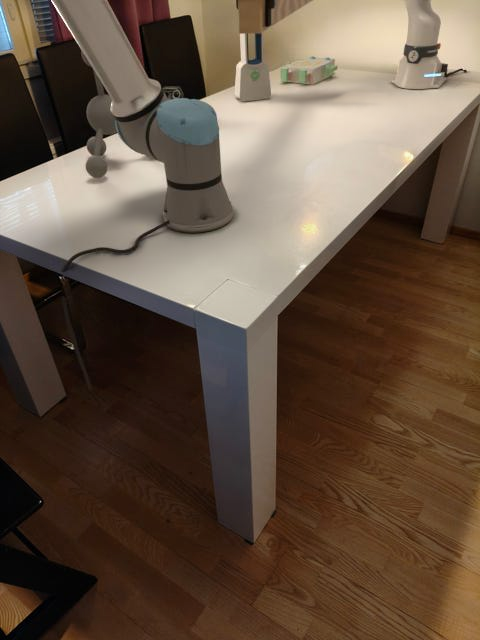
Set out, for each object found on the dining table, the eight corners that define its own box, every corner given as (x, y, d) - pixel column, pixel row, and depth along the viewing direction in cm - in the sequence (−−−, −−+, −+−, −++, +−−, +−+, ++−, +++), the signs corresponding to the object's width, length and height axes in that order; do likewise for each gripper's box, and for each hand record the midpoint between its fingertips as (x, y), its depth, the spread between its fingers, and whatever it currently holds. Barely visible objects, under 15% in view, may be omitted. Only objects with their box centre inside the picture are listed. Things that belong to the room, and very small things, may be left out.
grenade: (164, 121, 167) (160, 89, 161) (170, 116, 172) (166, 85, 166) (182, 121, 166) (179, 89, 160) (188, 116, 170) (184, 85, 164)
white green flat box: (303, 54, 216) (344, 57, 207) (302, 70, 220) (342, 74, 211) (271, 65, 200) (314, 69, 191) (271, 82, 204) (314, 87, 195)
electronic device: (239, 102, 182) (235, 7, 164) (234, 97, 188) (230, 5, 170) (271, 98, 184) (270, 4, 166) (265, 93, 190) (264, 2, 172)
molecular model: (172, 168, 131) (155, 42, 113) (90, 184, 125) (57, 53, 107) (152, 143, 149) (134, 30, 130) (79, 156, 143) (49, 39, 124)
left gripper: (301, -112, 97) (298, 23, 112) (216, -105, 102) (223, 24, 116) (294, -115, 92) (291, 28, 106) (204, -107, 96) (213, 29, 111)
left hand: (256, 25), depth 111 cm, fingers closed on post, 5 cm apart
